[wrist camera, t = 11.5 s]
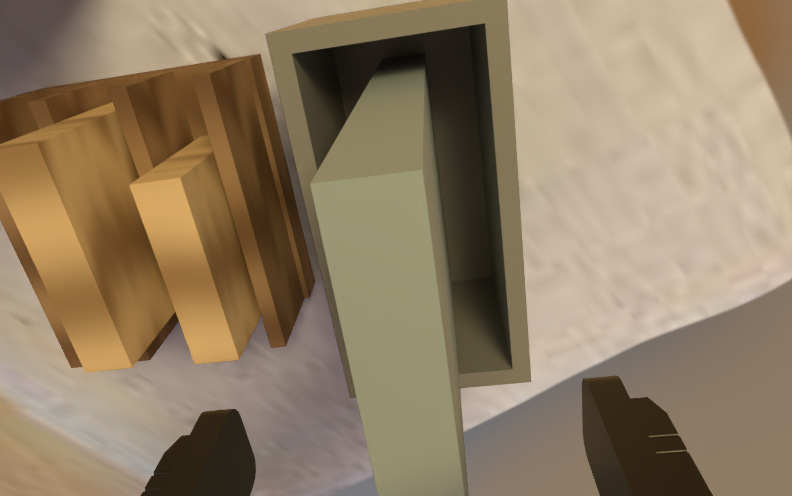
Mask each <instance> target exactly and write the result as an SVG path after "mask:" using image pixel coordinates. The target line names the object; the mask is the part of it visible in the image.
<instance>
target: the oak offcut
mask: <svg viewBox="0 0 792 496" xmlns="http://www.w3.org/2000/svg"><path fill="white" fill-rule="evenodd" d="M137 179H139V175H138V172H137V169H136V166H135V163H134V161H133V158H132V155H131V152H130V149H129V147H128V144H127V141H126V138H125V135H124V133H123V130H122V127H121V124H120V121H119V119H118V116H117V113H116V110H115V107H114V105H113V102H111V103H108V104H105V105H103V106H100V107H97V108H95V109H92V110H89V111H87V112H84V113H82V114H79V115H76V116H74V117H71V118H68V119H66V120H63V121H60V122H58V123H55V124H52V125H50V126H47V127H44V128H42V129H39V130H37V131H34V132H31V133H29V134H26V135H23V136H21V137H18V138H15V139H13V140H10V141H7V142H5V143H2V144H0V191H1V194H2V196H3V198H4V200H5V202H6V204H7V206H8V208H9V211H10V213H11V215H12V217H13V219H14V221H15V223H16V226H17V228H18V230H19V232H20V234H21V236H22V238H23V240H24V243H25V245H26V247H27V249H28V251H29V253H30V255H31V258H32V260H33V262H34V264H35V266H36V268H37V270H38V272H39V275H40V277H41V279H42V281H43V283H44V285H45V287H46V289H47V292H48V294H49V296H50V298H51V300H52V302H53V304H54V307H55V309H56V311H57V313H58V315H59V317H60V319H61V321H62V324H63V326H64V328H65V330H66V332H67V334H68V336H69V339H70V341H71V343H72V345H73V347H74V349H75V351H76V353H77V356H78V358H79V360H80V362H81V364H82V366H83V368H84V370H85V372H94V371H104V370H114V369H124V368H133V366H134V365H135V364H136V362H137V361H138V360H139V358H140V357H141V356H142V354H143V353H144V352H145V351H146V349H147V348H148V347H149V345H150V344H151V343H152V341H153V340H154V339H155V337H156V336H157V335H158V334H159V332H160V331H161V330H162V328H163V327H164V326H165V324H166V323H167V322H168V320H169V319H170V318H171V317H172V315H173V314H174V313H175V309H174V306H173V303H172V301H171V298H170V295H169V292H168V290H167V287H166V284H165V282H164V279H163V276H162V273H161V271H160V268H159V265H158V262H157V260H156V257H155V254H154V252H153V249H152V246H151V243H150V241H149V238H148V235H147V232H146V230H145V227H144V224H143V222H142V219H141V216H140V213H139V211H138V208H137V205H136V202H135V200H134V197H133V194H132V192H131V189H130V186H129V185H130V184H131V183H133V182H134V181H136V180H137Z"/></svg>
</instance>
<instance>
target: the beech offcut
mask: <svg viewBox="0 0 792 496" xmlns="http://www.w3.org/2000/svg"><path fill="white" fill-rule="evenodd" d="M129 186H130V189H131V192H132V194H133V197H134V200H135V202H136V205H137V208H138V211H139V213H140V216H141V219H142V222H143V224H144V227H145V230H146V232H147V235H148V238H149V241H150V243H151V246H152V249H153V252H154V254H155V257H156V260H157V262H158V265H159V268H160V271H161V273H162V276H163V279H164V282H165V284H166V287H167V290H168V292H169V295H170V298H171V301H172V303H173V306H174V309H175V312H176V314H177V317H178V320H179V322H180V325H181V328H182V331H183V333H184V336H185V339H186V342H187V344H188V347H189V350H190V352H191V355H192V358H193V361H194V363H195V364H201V363H211V362H222V361H232V360H239V359H240V357H241V355H242V353H243V351H244V349H245V347H246V345H247V343H248V341H249V339H250V337H251V335H252V333H253V331H254V329H255V327H256V325H257V323H258V321H259V319H260V317H261V312H260V309H259V305H258V302H257V298H256V295H255V291H254V288H253V285H252V281H251V278H250V274H249V271H248V268H247V264H246V261H245V257H244V254H243V251H242V247H241V244H240V240H239V237H238V234H237V230H236V227H235V223H234V220H233V217H232V213H231V210H230V206H229V203H228V199H227V196H226V193H225V189H224V186H223V182H222V179H221V176H220V172H219V169H218V165H217V162H216V159H215V155H214V152H213V148H212V145H211V142H210V138H209V135H208V136H201V137H199V138H197V139H196V140H195V141H193V142H192V143H190V144H189V145H187V146H186V147H184V148H183V149H181V150H180V151H178V152H177V153H175V154H174V155H172V156H171V157H169V158H168V159H167V160H165V161H164V162H162V163H161V164H159V165H158V166H156V167H155V168H153V169H152V170H150V171H149V172H147V173H146V174H144V175H143V176H141V177H140V178H139V179H137V180H136V181H134V182H133V183H131V184H130V185H129Z"/></svg>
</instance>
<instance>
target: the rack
mask: <svg viewBox="0 0 792 496" xmlns="http://www.w3.org/2000/svg"><path fill="white" fill-rule="evenodd" d="M111 102H113V105H114V107H115V110H116V113H117V116H118V119H119V121H120V124H121V127H122V130H123V133H124V135H125V138H126V141H127V144H128V147H129V149H130V152H131V155H132V158H133V161H134V163H135V166H136V169H137V172H138V175H139V178H140V177H141V176H143V175H144V174H146V173H147V172H149V171H150V170H152V169H153V168H155V167H156V166H158V165H159V164H161V163H162V162H164V161H165V160H167V159H168V158H169V157H171V156H172V155H174V154H175V153H177V152H178V151H180V150H181V149H183V148H184V147H186V146H187V145H189V144H190V143H192V142H193V141H195V140H196V139H197V138H199V137H201V136H208V135H209V138H210V142H211V145H212V148H213V152H214V155H215V159H216V162H217V165H218V169H219V172H220V176H221V179H222V182H223V186H224V189H225V193H226V196H227V199H228V203H229V206H230V210H231V213H232V217H233V220H234V223H235V227H236V230H237V234H238V237H239V240H240V244H241V247H242V251H243V254H244V257H245V261H246V264H247V268H248V271H249V274H250V278H251V281H252V285H253V288H254V291H255V295H256V298H257V302H258V305H259V309H260V312H261V315H262V319H263V322H264V326H265V329H266V332H267V336H268V339H269V343H270V346H271V348H275V347H285V346H286V344H287V342H288V339H289V337H290V334H291V331H292V329H293V326H294V324H295V321H296V319H297V316H298V313H299V311H300V308H301V306H302V303H303V301H304V298H309V297H310V294H311V291H312V289H313V286H314V283H315V280H314V276H313V272H312V268H311V263H310V259H309V255H308V251H307V247H306V243H305V238H304V234H303V230H302V226H301V222H300V218H299V213H298V209H297V205H296V201H295V197H294V193H293V188H292V184H291V180H290V176H289V172H288V168H287V163H286V159H285V155H284V151H283V147H282V143H281V139H280V134H279V130H278V126H277V122H276V118H275V114H274V109H273V105H272V101H271V97H270V93H269V89H268V84H267V80H266V76H265V72H264V68H263V64H262V59H261V55H260V54H257V55H251V56H244V57H238V58H232V59H225V60H219V61H213V62H207V63H200V64H194V65H188V66H181V67H175V68H169V69H162V70H156V71H150V72H144V73H137V74H131V75H125V76H118V77H112V78H106V79H99V80H93V81H87V82H81V83H74V84H68V85H62V86H55V87H49V88H43V89H38V90H35V91H31V92H27V93H24V94H20V95H17V96H15V97H11V98H8V99H4V100H0V144H2V143H5V142H7V141H10V140H13V139H15V138H18V137H21V136H23V135H26V134H29V133H31V132H34V131H37V130H39V129H42V128H44V127H47V126H50V125H52V124H55V123H58V122H60V121H63V120H66V119H68V118H71V117H74V116H76V115H79V114H82V113H84V112H87V111H89V110H92V109H95V108H97V107H100V106H103V105H105V104H108V103H111ZM0 220H1V222H2V224H3V226H4V229H5V231H6V233H7V235H8V237H9V239H10V241H11V243H12V245H13V247H14V249H15V251H16V254H17V256H18V258H19V260H20V262H21V264H22V266H23V268H24V270H25V272H26V274H27V276H28V279H29V281H30V283H31V285H32V287H33V289H34V291H35V293H36V295H37V297H38V299H39V301H40V304H41V306H42V308H43V310H44V312H45V314H46V316H47V318H48V320H49V322H50V324H51V326H52V329H53V331H54V333H55V335H56V337H57V339H58V341H59V343H60V345H61V347H62V349H63V352H64V354H65V356H66V358H67V360H68V362H69V364H70V366H71V368H75V367H83V366H82V364H81V362H80V360H79V358H78V356H77V353H76V351H75V349H74V347H73V345H72V343H71V341H70V339H69V336H68V334H67V332H66V330H65V328H64V326H63V324H62V321H61V319H60V317H59V315H58V313H57V311H56V309H55V307H54V304H53V302H52V300H51V298H50V296H49V294H48V292H47V289H46V287H45V285H44V283H43V281H42V279H41V277H40V275H39V272H38V270H37V268H36V266H35V264H34V262H33V260H32V258H31V255H30V253H29V251H28V249H27V247H26V245H25V243H24V240H23V238H22V236H21V234H20V232H19V230H18V228H17V226H16V223H15V221H14V219H13V217H12V215H11V213H10V211H9V208H8V206H7V204H6V202H5V200H4V198H3V196H2V194H1V191H0ZM178 321H179V320H178V317H177V314H176V312H175V313H174V314H173V315H172V317H171V318H170V319H169V320H168V322H167V323H166V324H165V326H164V327H163V328H162V330H161V331H160V332H159V334H158V335H157V336H156V337H155V339H154V340H153V341H152V343H151V344H150V345H149V347H148V348H147V349H146V351H145V352H144V353H143V354H142V356H141V357H140V358H139V360H138V361H145V360H150V359H151V358H152V357H153V355H154V354H155V353H156V351H157V350H158V348H159V347H160V346H161V344H162V343H163V342H164V340H165V339H166V338H167V336H168V335H169V333H170V332H171V331H172V329H173V328H174V327H175V325H176V324H177V323H178Z"/></svg>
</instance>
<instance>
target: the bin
mask: <svg viewBox="0 0 792 496" xmlns="http://www.w3.org/2000/svg"><path fill="white" fill-rule="evenodd" d="M265 35H266V39H267V44H268V48H269V52H270V57H271V61H272V65H273V69H274V74H275V78H276V82H277V87H278V91H279V95H280V99H281V104H282V108H283V112H284V117H285V121H286V125H287V129H288V134H289V138H290V142H291V147H292V151H293V155H294V159H295V164H296V168H297V172H298V177H299V181H300V185H301V189H302V194H303V198H304V202H305V207H306V211H307V215H308V219H309V224H310V228H311V232H312V237H313V241H314V245H315V249H316V254H317V258H318V262H319V267H320V271H321V275H322V279H323V284H324V288H325V292H326V297H327V301H328V305H329V309H330V314H331V318H332V322H333V327H334V331H335V335H336V339H337V344H338V348H339V352H340V357H341V361H342V365H343V369H344V374H345V378H346V382H347V387H348V391H349V395H350V398H354V397H356V392H355V388H354V383H353V379H352V374H351V370H350V365H349V360H348V356H347V351H346V347H345V342H344V337H343V333H342V328H341V324H340V319H339V315H338V310H337V305H336V301H335V296H334V292H333V287H332V282H331V278H330V273H329V269H328V264H327V260H326V255H325V250H324V246H323V241H322V237H321V232H320V227H319V223H318V218H317V214H316V209H315V205H314V200H313V195H312V191H311V186H310V183H311V181H312V180H313V178H314V176H315V174H316V173H317V171H318V169H319V168H320V166H321V164H322V162H323V161H324V159H325V157H326V155H327V154H328V152H329V150H330V149H331V147H332V145H333V143H334V142H335V140H336V138H337V137H338V135H339V133H340V131H341V130H342V128H343V126H344V124H345V123H346V121H347V119H348V118H349V116H350V114H351V112H352V111H353V109H354V107H355V105H356V104H357V102H358V100H359V99H360V97H361V95H362V93H363V92H364V90H365V88H366V87H367V85H368V83H369V81H370V80H371V78H372V76H373V74H374V73H375V71H376V69H377V68H378V66H379V64H380V62H381V61H382V59H385V58H392V57H399V56H406V55H413V54H419V53H425V57H426V66H427V74H428V83H429V91H430V100H431V108H432V117H433V126H434V134H435V143H436V151H437V160H438V168H439V177H440V186H441V194H442V203H443V211H444V220H445V228H446V237H447V246H448V254H449V263H450V275H451V287H452V300H453V312H454V324H455V336H456V348H457V360H458V373H459V385H460V388H467V387H478V386H489V385H500V384H512V383H523V382H531V371H530V355H529V339H528V324H527V308H526V292H525V277H524V261H523V245H522V229H521V214H520V198H519V182H518V167H517V151H516V135H515V119H514V104H513V88H512V72H511V57H510V41H509V25H508V9H507V0H423V1H417V2H411V3H405V4H399V5H393V6H387V7H381V8H375V9H369V10H362V11H356V12H350V13H344V14H338V15H332V16H326V17H320V18H314V19H311V20H308V21H305V22H302V23H298V24H295V25H292V26H289V27H286V28H282V29H279V30H276V31H273V32H270V33H267V34H265Z"/></svg>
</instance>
